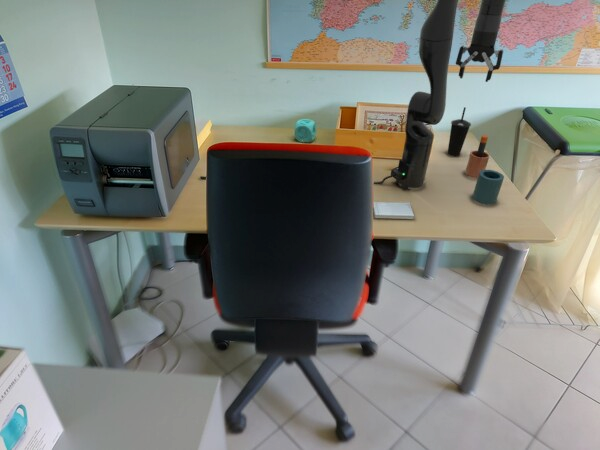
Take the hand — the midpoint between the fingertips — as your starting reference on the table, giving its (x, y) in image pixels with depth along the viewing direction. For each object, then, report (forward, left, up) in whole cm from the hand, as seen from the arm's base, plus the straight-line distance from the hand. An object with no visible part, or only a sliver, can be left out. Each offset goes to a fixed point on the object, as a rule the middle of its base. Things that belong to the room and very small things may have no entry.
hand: (473, 79), depth 142 cm
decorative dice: (-44, +47, -34) cm, 73 cm away
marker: (+3, -9, -33) cm, 35 cm away
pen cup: (+3, -9, -34) cm, 35 cm away
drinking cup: (+9, +10, -34) cm, 37 cm away
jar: (-7, -25, -34) cm, 43 cm away
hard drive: (-41, -20, -34) cm, 57 cm away
